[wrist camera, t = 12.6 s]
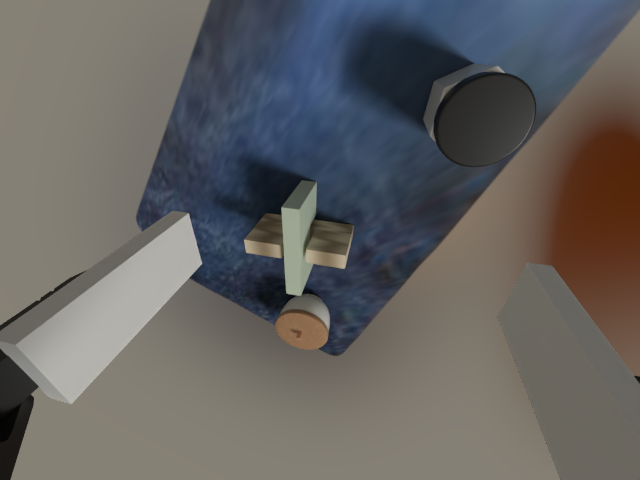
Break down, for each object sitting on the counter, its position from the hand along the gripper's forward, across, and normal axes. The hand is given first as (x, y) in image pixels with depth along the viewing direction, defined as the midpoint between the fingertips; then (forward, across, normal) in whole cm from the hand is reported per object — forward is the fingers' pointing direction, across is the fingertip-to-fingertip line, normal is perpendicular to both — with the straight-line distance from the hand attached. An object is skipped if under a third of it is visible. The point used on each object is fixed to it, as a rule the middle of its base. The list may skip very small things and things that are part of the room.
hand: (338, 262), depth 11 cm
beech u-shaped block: (+33, -10, -19) cm, 39 cm away
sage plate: (+33, -10, -18) cm, 39 cm away
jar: (+33, +10, +2) cm, 34 cm away
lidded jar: (+33, -9, -39) cm, 52 cm away
